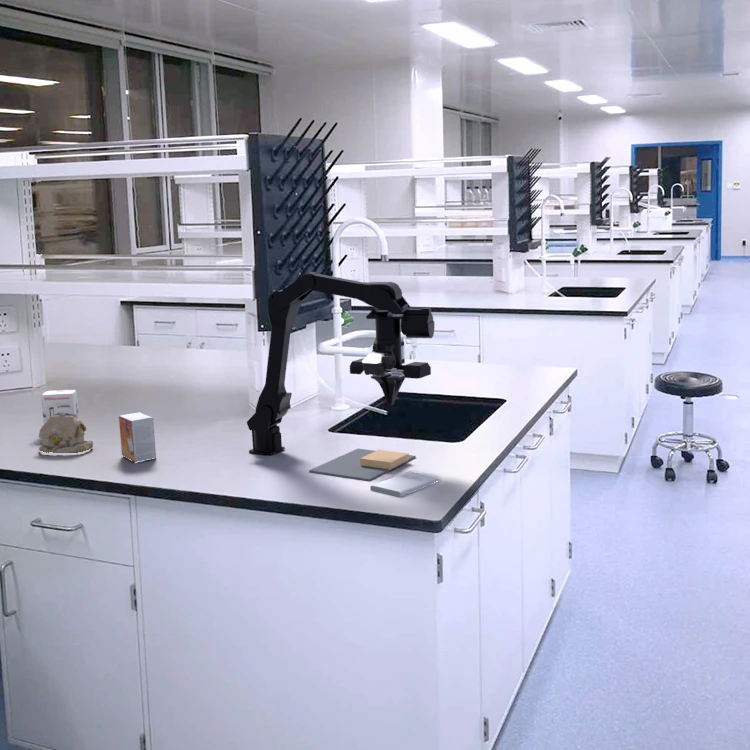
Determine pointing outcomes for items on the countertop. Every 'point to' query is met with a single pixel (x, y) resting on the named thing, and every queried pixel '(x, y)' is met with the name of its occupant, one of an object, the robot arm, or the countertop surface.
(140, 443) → the small box
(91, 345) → the countertop surface
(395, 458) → the tile
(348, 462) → the mat
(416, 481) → the external hard drive
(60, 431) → the ceramic model
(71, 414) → the ink box
